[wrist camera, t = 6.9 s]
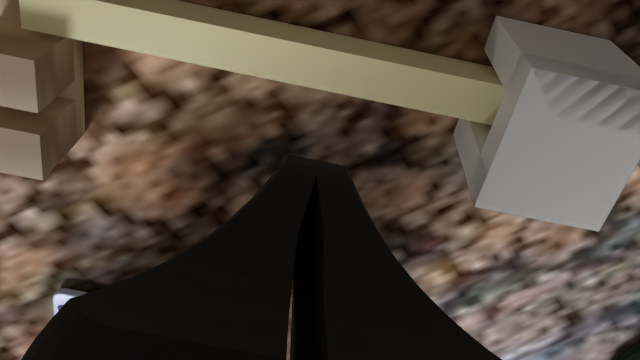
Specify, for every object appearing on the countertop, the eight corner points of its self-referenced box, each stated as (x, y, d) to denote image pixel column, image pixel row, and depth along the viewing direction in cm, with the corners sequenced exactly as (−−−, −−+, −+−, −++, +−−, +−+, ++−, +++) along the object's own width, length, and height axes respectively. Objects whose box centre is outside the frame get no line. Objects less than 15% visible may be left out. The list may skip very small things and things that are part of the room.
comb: (85, 132, 23) (42, 180, 20) (21, 120, 23) (-31, 166, 20) (76, -191, 17) (15, -193, 14) (-8, -210, 17) (-89, -216, 14)
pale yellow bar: (673, 137, 22) (704, 169, 20) (53, 8, 20) (21, 28, 18) (693, 103, 21) (727, 133, 19) (51, -33, 20) (17, -16, 18)
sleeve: (554, 155, 22) (598, 231, 18) (453, 134, 22) (474, 206, 18) (610, 40, 20) (675, 98, 16) (496, 15, 19) (531, 67, 15)
